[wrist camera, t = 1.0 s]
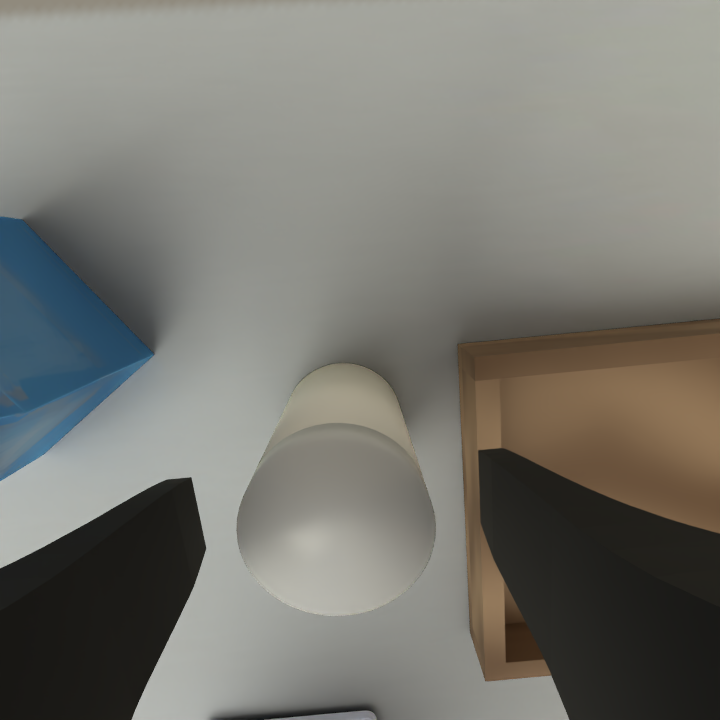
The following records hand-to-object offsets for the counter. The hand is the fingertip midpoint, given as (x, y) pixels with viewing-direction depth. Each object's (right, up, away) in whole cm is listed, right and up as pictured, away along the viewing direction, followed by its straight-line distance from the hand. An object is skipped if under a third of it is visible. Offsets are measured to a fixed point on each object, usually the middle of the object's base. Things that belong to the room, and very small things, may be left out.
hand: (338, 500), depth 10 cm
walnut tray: (+11, -2, +6) cm, 13 cm away
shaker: (0, +1, +6) cm, 6 cm away
